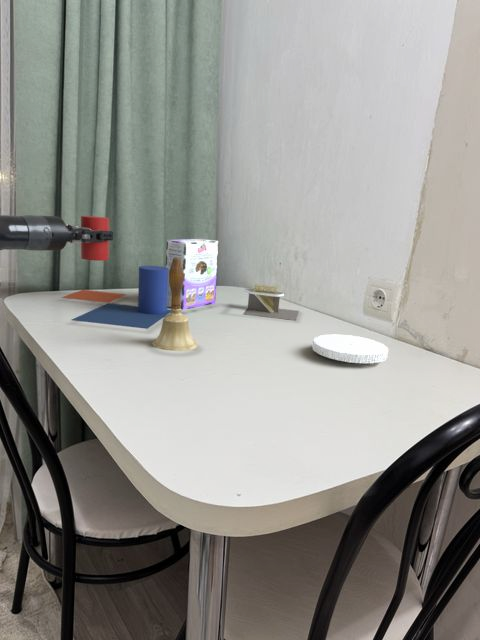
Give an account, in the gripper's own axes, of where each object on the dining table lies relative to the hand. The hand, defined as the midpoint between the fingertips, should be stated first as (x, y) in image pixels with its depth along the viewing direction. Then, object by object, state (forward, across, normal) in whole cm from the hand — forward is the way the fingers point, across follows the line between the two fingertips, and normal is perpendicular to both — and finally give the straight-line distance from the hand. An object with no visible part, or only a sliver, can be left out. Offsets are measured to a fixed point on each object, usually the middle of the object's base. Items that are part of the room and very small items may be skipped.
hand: (102, 234), depth 125 cm
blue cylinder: (-2, +20, -15) cm, 26 cm away
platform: (+23, +34, -16) cm, 44 cm away
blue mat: (-9, +20, -16) cm, 27 cm away
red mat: (-2, 0, -16) cm, 16 cm away
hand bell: (-16, +43, -16) cm, 49 cm away
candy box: (+12, +20, -16) cm, 28 cm away
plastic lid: (+5, +68, -16) cm, 70 cm away
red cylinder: (-2, 0, -6) cm, 6 cm away
